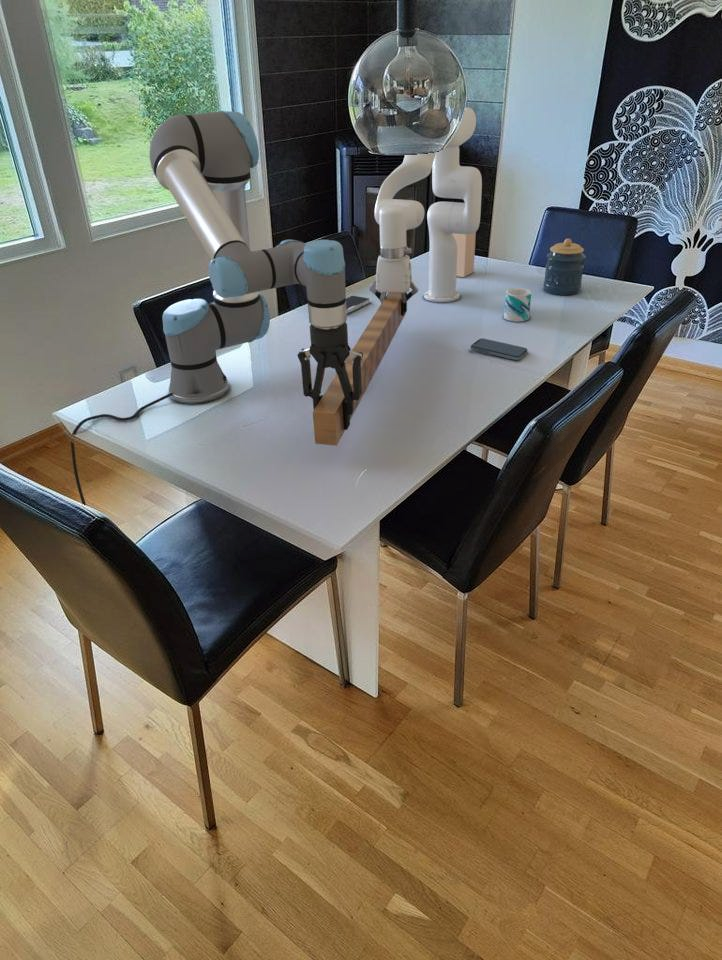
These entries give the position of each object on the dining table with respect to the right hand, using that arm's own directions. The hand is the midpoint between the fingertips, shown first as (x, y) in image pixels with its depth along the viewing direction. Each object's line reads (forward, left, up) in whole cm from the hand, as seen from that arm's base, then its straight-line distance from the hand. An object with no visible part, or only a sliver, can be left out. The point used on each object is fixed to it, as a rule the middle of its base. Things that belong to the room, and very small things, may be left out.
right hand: (394, 313), depth 202 cm
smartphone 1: (-21, -26, -8) cm, 34 cm away
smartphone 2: (0, +33, -8) cm, 34 cm away
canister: (-63, +38, -8) cm, 74 cm away
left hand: (+68, +14, -1) cm, 69 cm away
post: (+34, +7, -2) cm, 35 cm away
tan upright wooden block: (-74, -2, -8) cm, 74 cm away
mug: (-32, +31, -8) cm, 45 cm away
